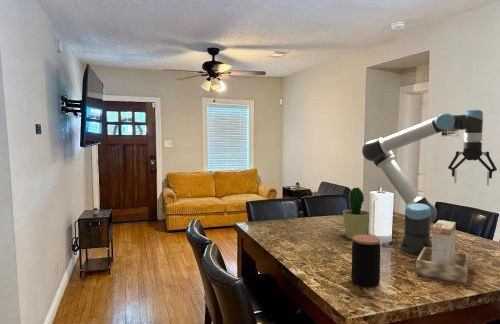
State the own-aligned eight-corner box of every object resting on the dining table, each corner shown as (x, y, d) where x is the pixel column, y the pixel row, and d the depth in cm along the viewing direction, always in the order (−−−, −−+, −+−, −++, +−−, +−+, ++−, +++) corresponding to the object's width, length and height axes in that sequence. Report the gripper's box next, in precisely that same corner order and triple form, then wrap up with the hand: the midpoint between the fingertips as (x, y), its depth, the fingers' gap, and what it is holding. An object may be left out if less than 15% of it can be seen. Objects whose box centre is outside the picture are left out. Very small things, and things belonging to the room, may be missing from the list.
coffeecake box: (437, 261, 153) (438, 219, 152) (455, 265, 149) (456, 222, 148) (430, 271, 142) (431, 226, 141) (449, 275, 137) (451, 229, 136)
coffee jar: (373, 277, 139) (374, 234, 138) (384, 288, 128) (385, 242, 127) (347, 277, 138) (348, 234, 137) (356, 288, 128) (357, 242, 126)
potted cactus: (365, 242, 185) (366, 189, 183) (338, 237, 195) (339, 186, 193) (373, 236, 198) (374, 186, 196) (348, 232, 207) (349, 184, 205)
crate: (415, 274, 142) (416, 260, 141) (423, 259, 160) (424, 246, 159) (466, 284, 131) (466, 269, 131) (468, 267, 149) (469, 254, 149)
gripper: (443, 141, 170) (441, 183, 171) (504, 141, 156) (502, 186, 157) (444, 141, 176) (443, 181, 177) (503, 141, 162) (501, 185, 163)
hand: (471, 184), depth 167 cm, fingers open, 13 cm apart
